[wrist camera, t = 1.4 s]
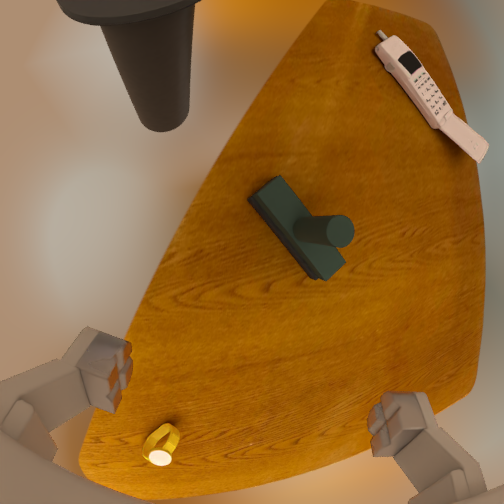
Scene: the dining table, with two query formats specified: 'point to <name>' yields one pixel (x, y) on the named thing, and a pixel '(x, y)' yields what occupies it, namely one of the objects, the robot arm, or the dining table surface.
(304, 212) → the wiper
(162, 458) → the watch
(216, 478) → the dining table surface
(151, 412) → the dining table surface
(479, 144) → the mobile phone
